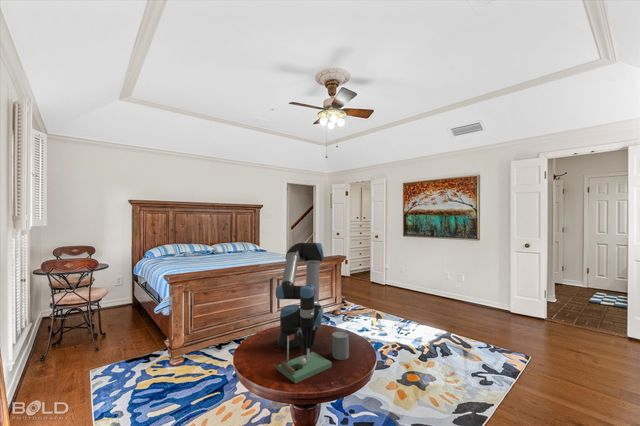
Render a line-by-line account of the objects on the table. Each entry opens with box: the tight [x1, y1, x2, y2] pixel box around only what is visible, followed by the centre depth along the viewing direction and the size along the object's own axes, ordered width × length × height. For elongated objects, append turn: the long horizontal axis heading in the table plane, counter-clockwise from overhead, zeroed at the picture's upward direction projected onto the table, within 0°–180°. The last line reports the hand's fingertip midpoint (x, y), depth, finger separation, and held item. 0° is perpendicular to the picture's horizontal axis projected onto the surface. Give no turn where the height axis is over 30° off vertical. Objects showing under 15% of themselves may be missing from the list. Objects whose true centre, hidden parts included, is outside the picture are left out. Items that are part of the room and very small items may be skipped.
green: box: [276, 334, 333, 384], centre depth 161 cm, size 16×24×16 cm, turn 130°
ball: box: [299, 357, 306, 365], centre depth 160 cm, size 4×4×4 cm
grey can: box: [331, 330, 350, 361], centre depth 175 cm, size 10×10×12 cm
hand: (306, 360), depth 162 cm, fingers closed
